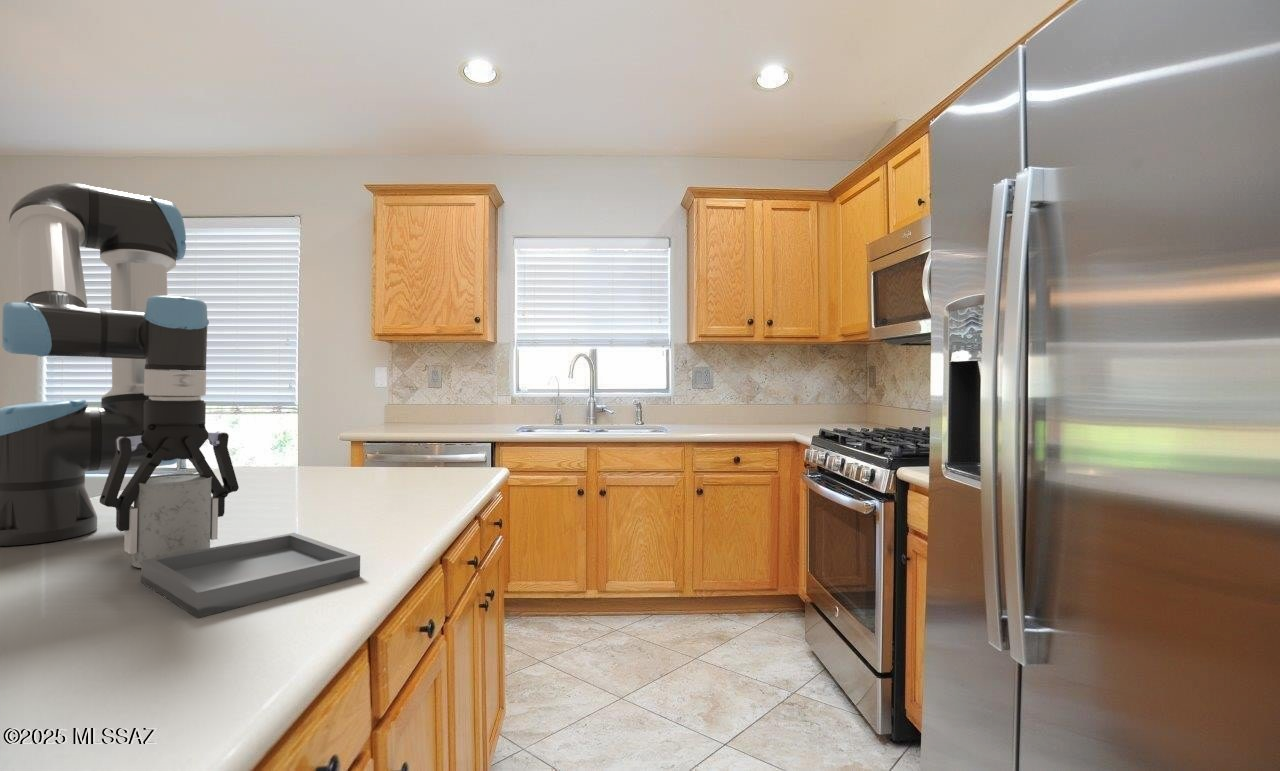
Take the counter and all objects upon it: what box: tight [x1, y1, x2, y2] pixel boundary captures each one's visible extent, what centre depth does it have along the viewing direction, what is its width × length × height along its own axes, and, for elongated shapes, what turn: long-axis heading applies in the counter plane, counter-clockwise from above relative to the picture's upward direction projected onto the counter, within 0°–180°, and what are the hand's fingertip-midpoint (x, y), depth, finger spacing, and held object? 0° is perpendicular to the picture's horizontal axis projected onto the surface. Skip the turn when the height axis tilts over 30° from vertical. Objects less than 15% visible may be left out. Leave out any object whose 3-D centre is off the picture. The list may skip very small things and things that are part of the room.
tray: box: [140, 532, 361, 619], centre depth 85 cm, size 20×20×3 cm
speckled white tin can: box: [131, 473, 212, 569], centre depth 93 cm, size 10×10×12 cm
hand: (172, 544), depth 93 cm, fingers closed on speckled white tin can, 9 cm apart
